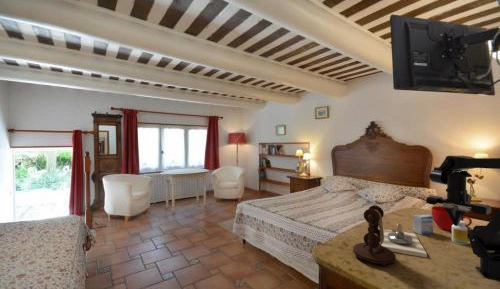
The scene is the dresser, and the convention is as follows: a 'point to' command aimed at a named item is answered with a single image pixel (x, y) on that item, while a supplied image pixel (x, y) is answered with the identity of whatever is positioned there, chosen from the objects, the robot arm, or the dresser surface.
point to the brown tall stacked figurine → (374, 240)
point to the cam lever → (399, 236)
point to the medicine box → (423, 224)
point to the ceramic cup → (444, 218)
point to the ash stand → (406, 249)
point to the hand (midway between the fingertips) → (456, 225)
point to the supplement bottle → (459, 233)
